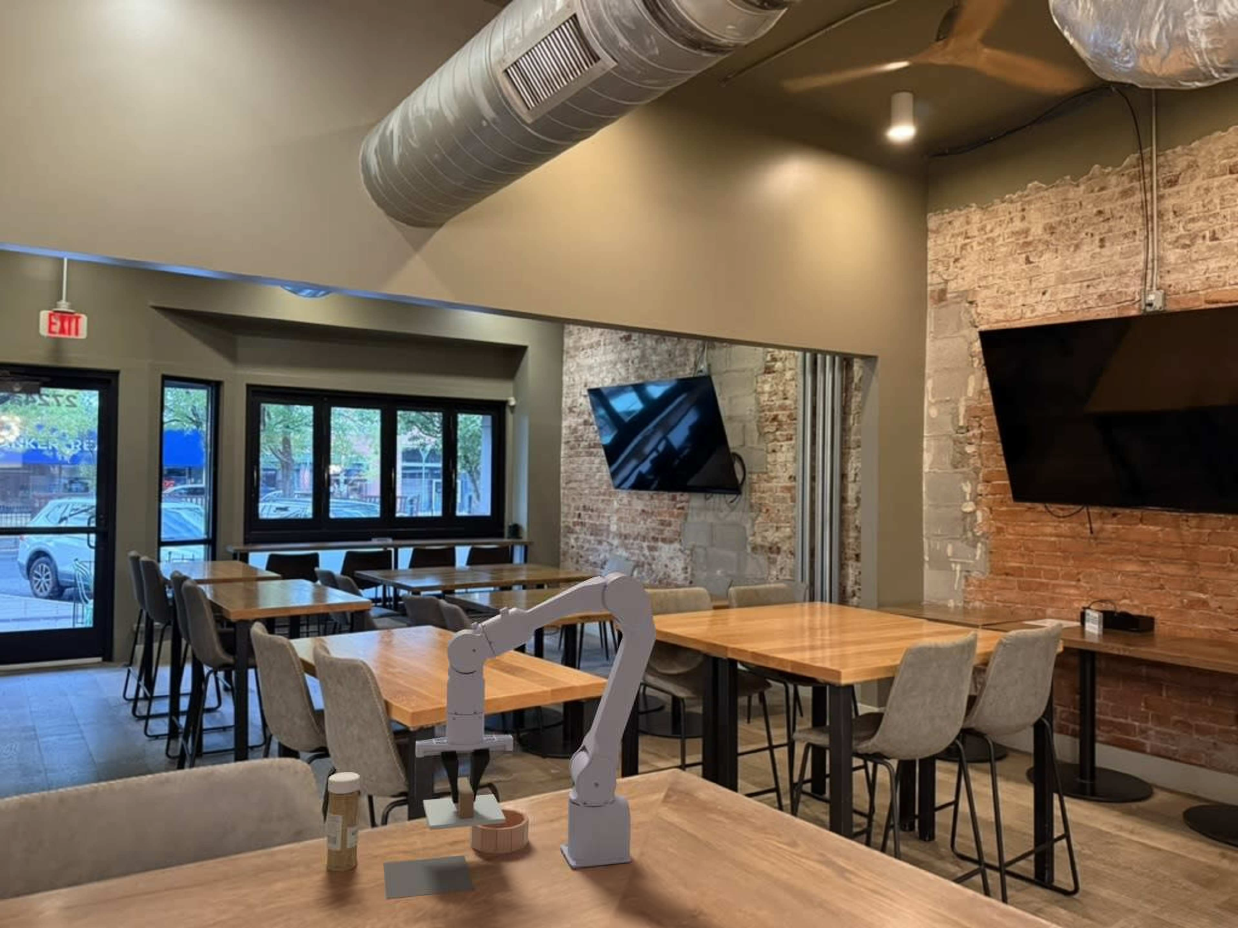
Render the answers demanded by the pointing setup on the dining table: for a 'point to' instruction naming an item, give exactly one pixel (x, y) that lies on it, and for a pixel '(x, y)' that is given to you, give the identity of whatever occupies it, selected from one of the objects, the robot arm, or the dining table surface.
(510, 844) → the bowl
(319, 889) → the dining table surface
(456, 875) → the mat
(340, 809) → the sprinkles bottle
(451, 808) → the lid
